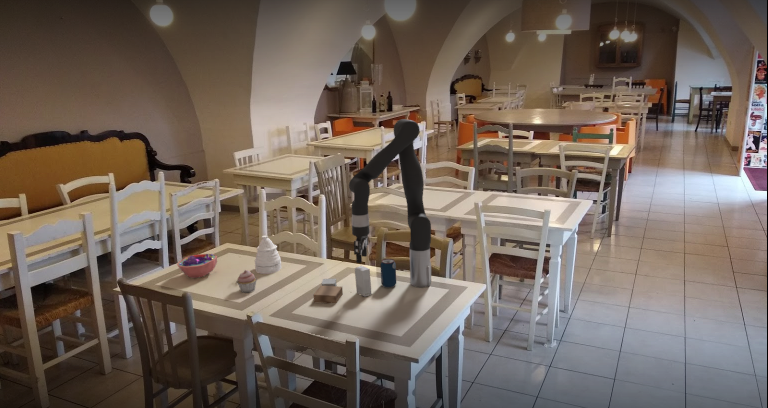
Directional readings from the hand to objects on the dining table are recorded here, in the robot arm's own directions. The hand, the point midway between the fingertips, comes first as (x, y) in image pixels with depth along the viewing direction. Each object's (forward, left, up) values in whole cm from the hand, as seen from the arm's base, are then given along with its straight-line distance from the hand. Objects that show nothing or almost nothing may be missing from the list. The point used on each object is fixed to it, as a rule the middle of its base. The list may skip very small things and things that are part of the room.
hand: (361, 259), depth 243 cm
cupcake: (+54, +4, -16) cm, 56 cm away
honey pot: (+56, -23, -16) cm, 63 cm away
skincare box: (0, 0, -16) cm, 16 cm away
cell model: (+87, -10, -16) cm, 89 cm away
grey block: (+17, -3, -16) cm, 24 cm away
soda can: (-9, -11, -16) cm, 22 cm away
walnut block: (+14, +7, -17) cm, 23 cm away
